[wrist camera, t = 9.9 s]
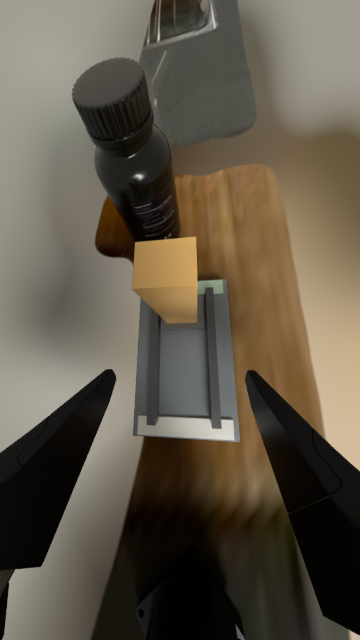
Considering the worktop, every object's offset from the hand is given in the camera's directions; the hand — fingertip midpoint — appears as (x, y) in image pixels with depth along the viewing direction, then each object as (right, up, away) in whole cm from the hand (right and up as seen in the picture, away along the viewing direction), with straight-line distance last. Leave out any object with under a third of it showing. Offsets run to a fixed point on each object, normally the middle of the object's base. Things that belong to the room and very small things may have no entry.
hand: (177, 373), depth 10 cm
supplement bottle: (-3, +16, +11) cm, 20 cm away
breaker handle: (0, +4, +6) cm, 8 cm away
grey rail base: (+1, 0, +7) cm, 7 cm away
